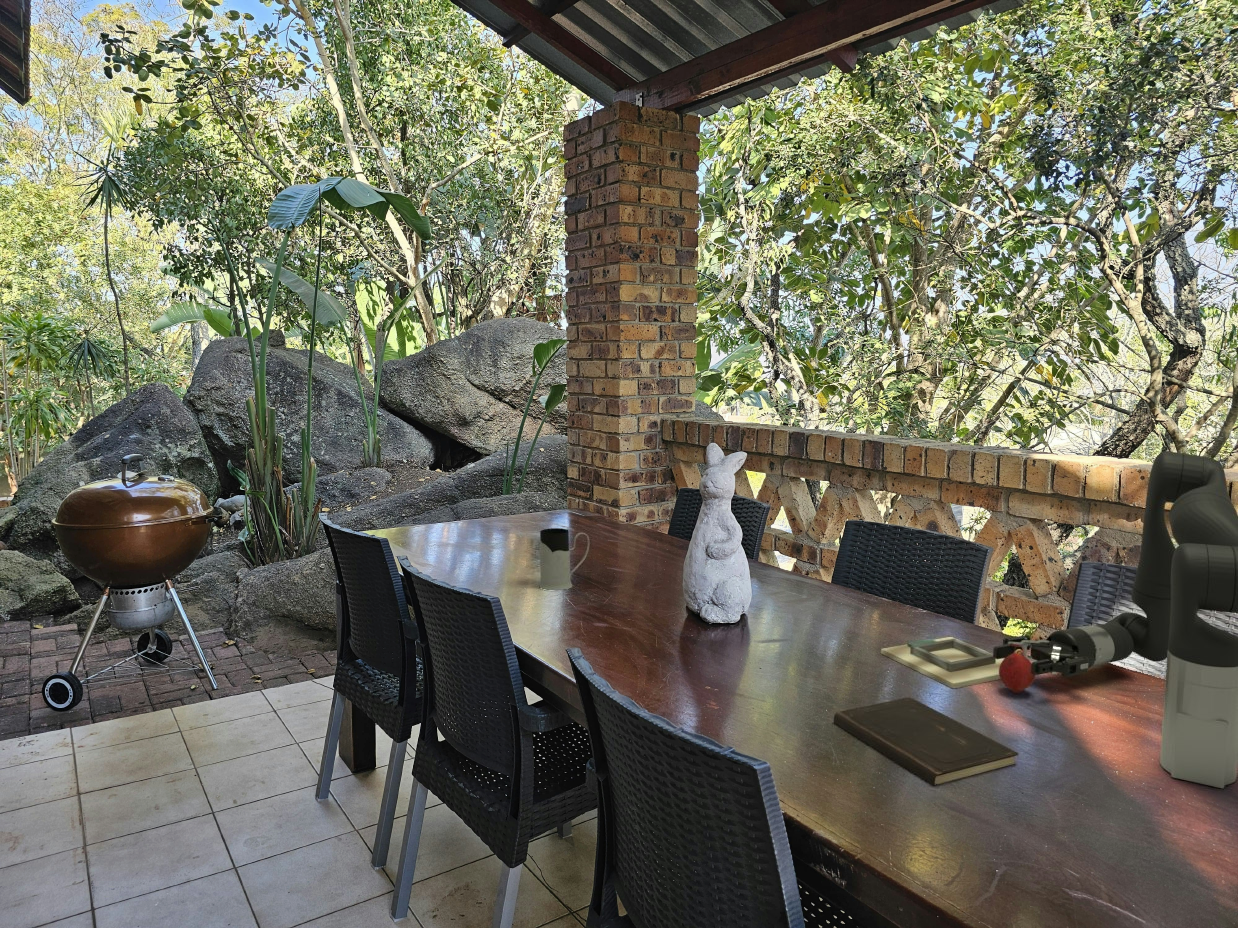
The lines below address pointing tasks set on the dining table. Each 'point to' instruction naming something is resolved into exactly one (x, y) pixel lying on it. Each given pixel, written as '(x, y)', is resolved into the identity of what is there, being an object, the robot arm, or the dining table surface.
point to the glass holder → (556, 558)
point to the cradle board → (947, 661)
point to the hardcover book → (924, 740)
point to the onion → (1016, 672)
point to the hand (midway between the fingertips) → (1013, 660)
